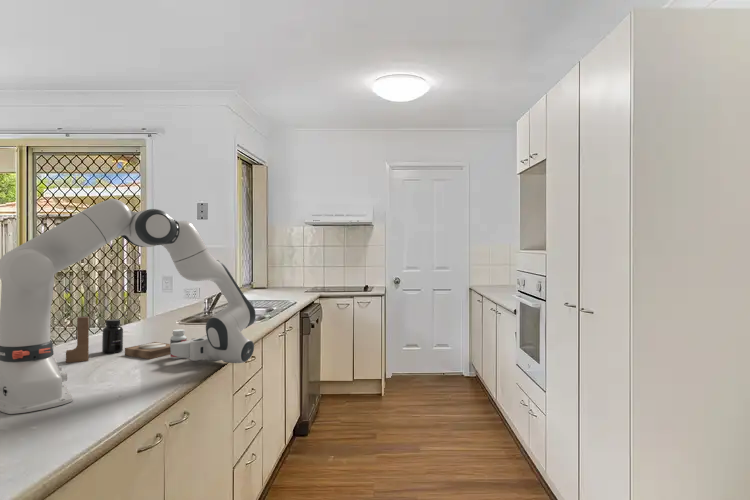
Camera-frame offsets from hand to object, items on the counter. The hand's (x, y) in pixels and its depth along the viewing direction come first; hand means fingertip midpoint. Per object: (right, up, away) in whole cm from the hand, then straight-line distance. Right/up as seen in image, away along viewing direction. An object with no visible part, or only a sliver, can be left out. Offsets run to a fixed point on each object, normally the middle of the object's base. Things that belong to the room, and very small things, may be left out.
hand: (182, 342), depth 179 cm
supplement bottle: (-29, -5, +9) cm, 31 cm away
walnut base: (-13, -5, +7) cm, 16 cm away
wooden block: (-34, -5, -6) cm, 35 cm away
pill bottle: (-2, -6, +1) cm, 6 cm away
